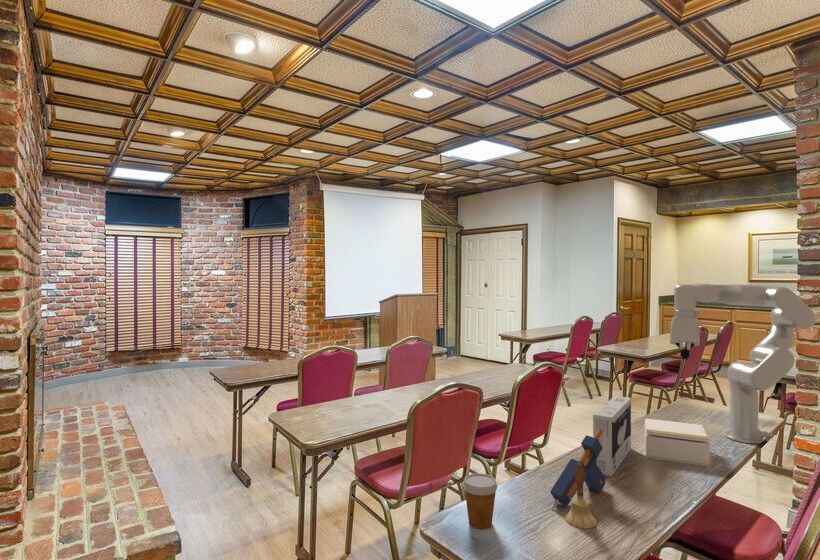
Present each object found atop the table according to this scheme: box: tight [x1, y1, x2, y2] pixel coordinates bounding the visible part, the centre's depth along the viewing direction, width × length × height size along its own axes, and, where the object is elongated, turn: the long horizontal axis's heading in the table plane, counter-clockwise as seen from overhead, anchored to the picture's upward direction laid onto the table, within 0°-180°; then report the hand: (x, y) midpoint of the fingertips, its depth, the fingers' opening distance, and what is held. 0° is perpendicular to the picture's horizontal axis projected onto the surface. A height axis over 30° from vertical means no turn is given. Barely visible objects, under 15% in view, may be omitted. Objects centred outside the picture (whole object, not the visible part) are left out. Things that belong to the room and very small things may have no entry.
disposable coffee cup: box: [462, 472, 499, 530], centre depth 126 cm, size 10×10×12 cm
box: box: [644, 422, 711, 468], centre depth 174 cm, size 20×18×8 cm
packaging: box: [592, 395, 632, 477], centre depth 169 cm, size 30×6×20 cm, turn 143°
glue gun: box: [549, 429, 607, 511], centre depth 142 cm, size 6×31×15 cm
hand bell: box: [564, 463, 598, 529], centre depth 127 cm, size 8×8×16 cm
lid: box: [644, 418, 710, 443], centre depth 174 cm, size 20×18×1 cm
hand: (684, 358), depth 189 cm, fingers closed
